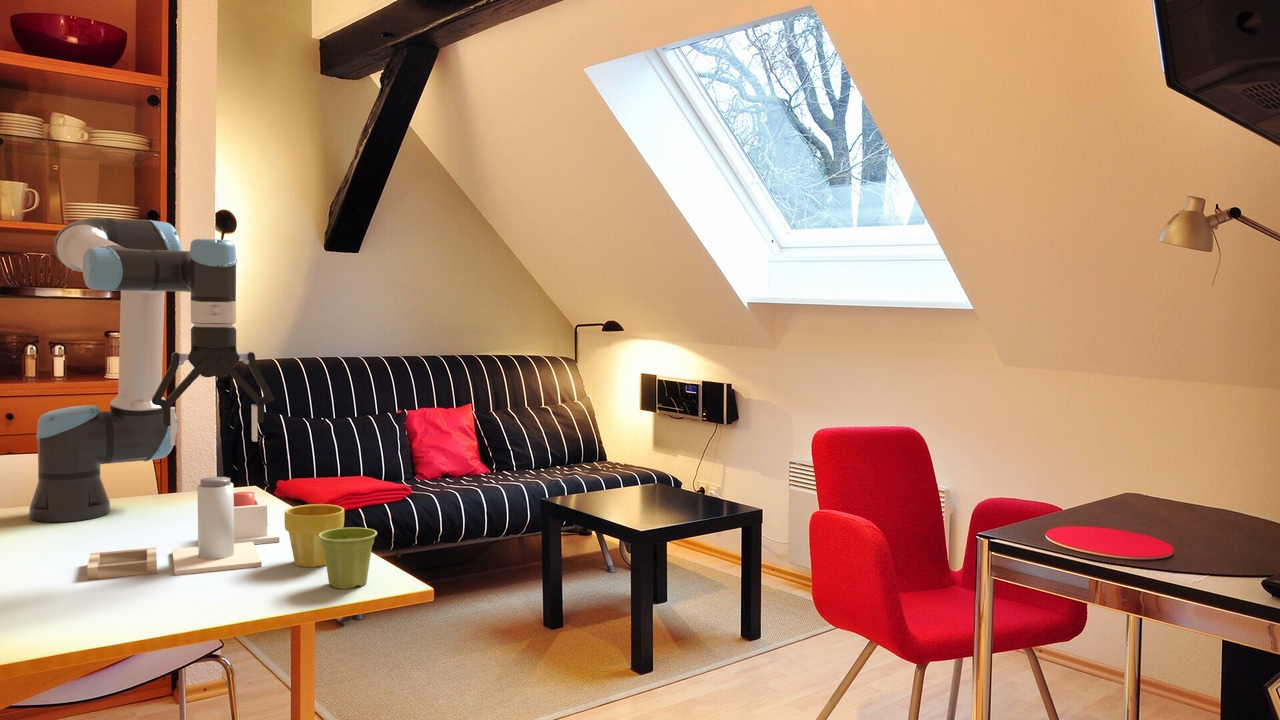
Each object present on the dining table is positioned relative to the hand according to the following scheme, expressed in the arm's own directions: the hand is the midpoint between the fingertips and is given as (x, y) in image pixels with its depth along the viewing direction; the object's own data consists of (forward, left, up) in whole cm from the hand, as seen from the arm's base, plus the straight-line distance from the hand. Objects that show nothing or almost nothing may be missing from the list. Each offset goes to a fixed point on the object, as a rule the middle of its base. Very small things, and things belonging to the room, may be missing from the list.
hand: (214, 442), depth 177 cm
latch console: (-15, +6, -22) cm, 27 cm away
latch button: (-15, +6, -18) cm, 24 cm away
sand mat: (0, 0, -22) cm, 22 cm away
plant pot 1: (+9, +16, -22) cm, 29 cm away
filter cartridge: (0, 0, -21) cm, 21 cm away
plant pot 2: (+25, +19, -22) cm, 38 cm away
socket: (0, -15, -22) cm, 26 cm away
